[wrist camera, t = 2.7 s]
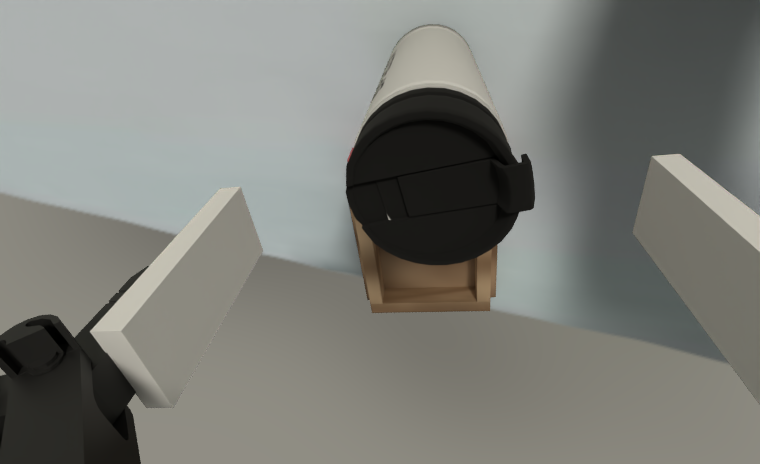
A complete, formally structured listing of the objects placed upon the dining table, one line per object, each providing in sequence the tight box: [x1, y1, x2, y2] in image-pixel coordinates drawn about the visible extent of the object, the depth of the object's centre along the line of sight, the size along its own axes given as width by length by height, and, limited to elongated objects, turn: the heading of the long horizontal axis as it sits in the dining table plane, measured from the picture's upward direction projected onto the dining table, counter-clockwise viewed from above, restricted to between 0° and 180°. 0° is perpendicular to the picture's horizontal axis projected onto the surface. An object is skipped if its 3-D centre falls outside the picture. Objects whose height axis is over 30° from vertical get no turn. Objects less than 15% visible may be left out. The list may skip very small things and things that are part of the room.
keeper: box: [350, 208, 497, 313], centre depth 38 cm, size 13×13×3 cm
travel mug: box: [346, 24, 535, 265], centre depth 22 cm, size 6×7×20 cm
